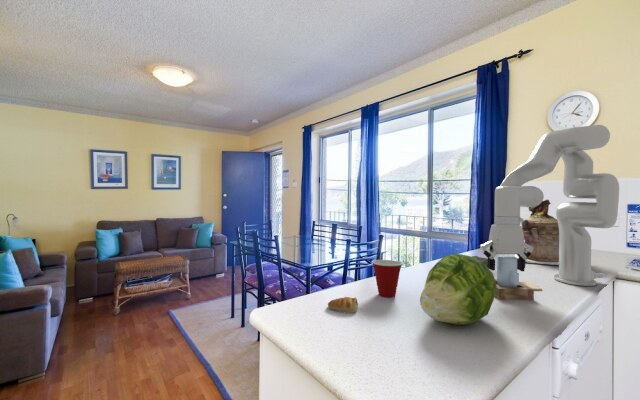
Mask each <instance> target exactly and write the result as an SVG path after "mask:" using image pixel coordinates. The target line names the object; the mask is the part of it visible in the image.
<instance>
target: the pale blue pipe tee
mask: <svg viewBox="0 0 640 400" xmlns="http://www.w3.org/2000/svg"><path fill="white" fill-rule="evenodd" d="M496 279H497V285H499V286H500V287H515V288H517V285H519V282H520V273H519V272H518V269H517V258H516V257H515V256H514V255H512V256H511V255H506V254H497V255H496Z"/></svg>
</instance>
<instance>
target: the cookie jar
mask: <svg viewBox="0 0 640 400" xmlns="http://www.w3.org/2000/svg"><path fill="white" fill-rule="evenodd" d="M551 204H552V203H551V202H550V200H549V199H545V200H544V199H543V201H542V202H541V203H540V204H539V205H538V206H535V207H528V211H529V212H530V216H528V217H527V218H525V219H524V221H523V222H520V226H522V229H523V235H524V243H526V244H528V245H530V246H532V247H533V248H534V249H533V251H532V252H531V255H530V256H529V257H528V258H527V260H525V263H529V264H539V265H540V264H542V265H554V266H559V226H558V221H557V218H556V217H554V216H553V215H550V214H549V208H550V207H549V206H550V205H551ZM526 249H527V248H525V247H524V252H525V251H526ZM513 257H516V258H517V259H518V258H519V257H518V256H517V254H513Z"/></svg>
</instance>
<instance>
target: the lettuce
mask: <svg viewBox="0 0 640 400" xmlns="http://www.w3.org/2000/svg"><path fill="white" fill-rule="evenodd" d="M495 279H496V278H495V277H494V274H493V272H492V270H490V269H489V268H488V267H487V266H486V265H485V264H484V263H483V262H481V261H479V260H478V259H476V258H474V257H472V256H471V255H466V254H462V253H452V254H449V255H445V256H443V257H442V258H441V259H439V260H438V261H437V262H436V263H435V264H434V265H433V266H432V267H431V268H430V269H429V271H428V274H427V276H426V280H425V284H424V287H423V289H422V291H421V294H420V298H419V305H420V307H421V309H422V311H423V312H424V313H425V314H426V315H427V316H428V317H430V318H431V319H434V320H436V321H438V322H443V323H448V324H450V325H469V324H472V323H474V322H476V321H479V320H481V319H483V318H484V317H486V316H488V314H489V312H490V310H491V307H492V306H493V305H492V304H493V302H494V300H495V298H496V297H495V295H496V292H497V286H496V280H495Z"/></svg>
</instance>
